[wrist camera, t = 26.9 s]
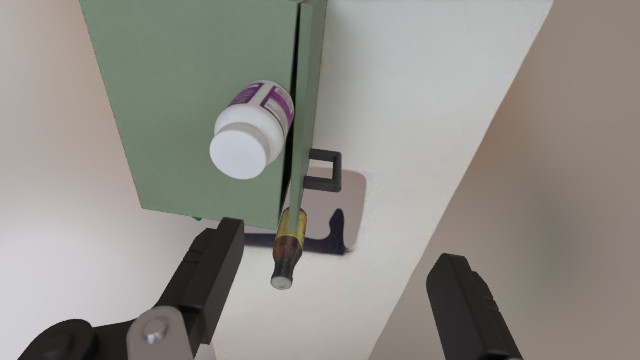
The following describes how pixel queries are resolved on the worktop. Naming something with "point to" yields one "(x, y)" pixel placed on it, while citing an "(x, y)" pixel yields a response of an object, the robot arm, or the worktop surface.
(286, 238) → the sauce bottle
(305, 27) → the cupboard door
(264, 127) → the pill bottle
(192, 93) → the cupboard
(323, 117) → the worktop surface
